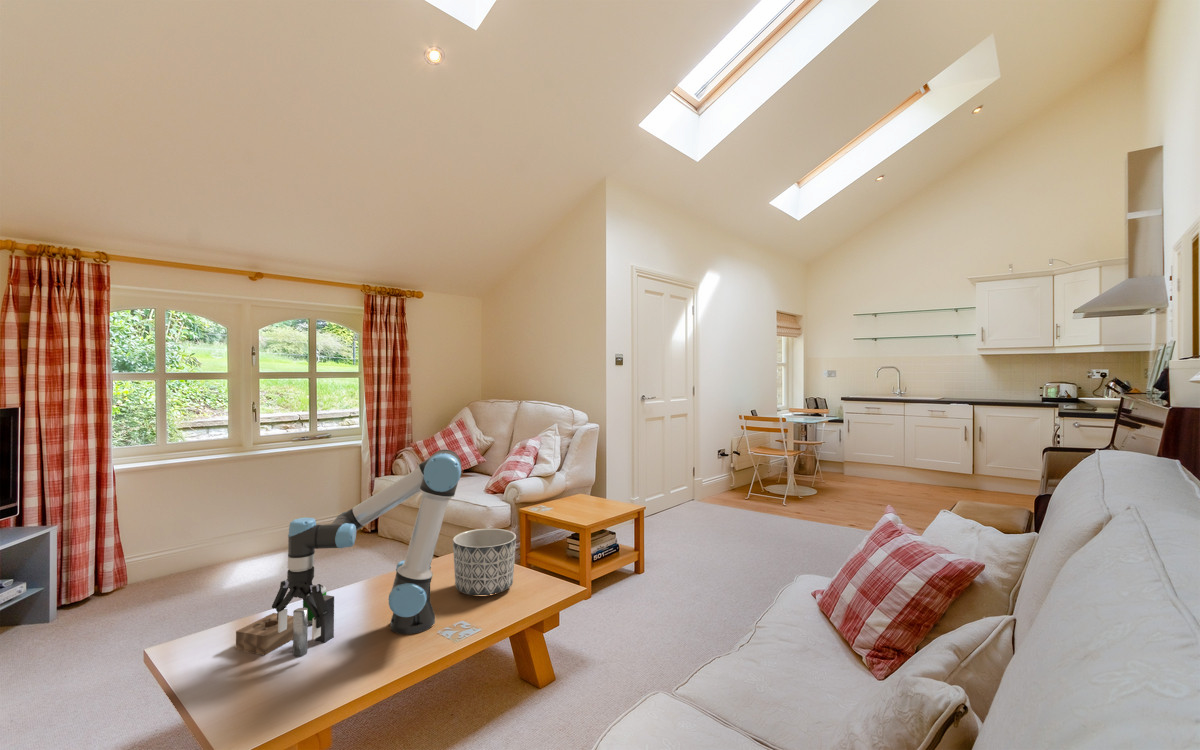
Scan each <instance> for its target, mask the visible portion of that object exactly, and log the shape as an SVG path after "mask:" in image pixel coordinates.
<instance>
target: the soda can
mask: <svg viewBox="0 0 1200 750" xmlns="http://www.w3.org/2000/svg"><path fill="white" fill-rule="evenodd" d="M320 585H321V592H322V595H327V588H326V586H325V585H323V584H320ZM308 596H309V594H308ZM302 608H308V625H312V623H313V618H314V617H315V616H314V615H313V613H312V611H311V610H310V608H309V606H308V604H307V603H306V601H304V600H303V599H302Z"/></svg>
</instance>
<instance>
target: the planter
mask: <svg viewBox="0 0 1200 750" xmlns="http://www.w3.org/2000/svg"><path fill="white" fill-rule="evenodd" d="M516 545H517V535H516V533H514V532H513V531H511V530H508V529H503V528H502V529H501V528H477V529H471V530H467V531H462V532H460V533H458V534H456V535H455V536H454V537H453V538H452V547H453V548H452V549H453V564H454V585H455V586H454V587H455V589H456V590H457V591H458V592H459V593H462V594H464V595H469V596H472V595H490V594H495V593H497V594H499V593H501V592H504V591H506V590H508V589H509V588H511V586H512V585H513V582H514V572H515V556H516ZM495 595H496V594H495Z"/></svg>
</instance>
